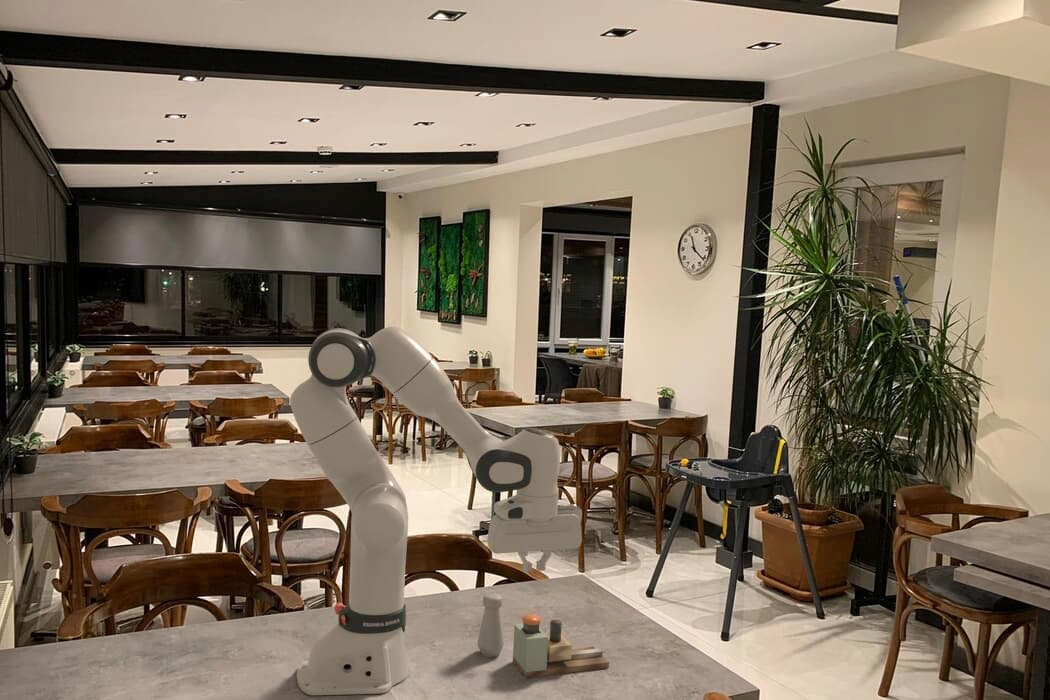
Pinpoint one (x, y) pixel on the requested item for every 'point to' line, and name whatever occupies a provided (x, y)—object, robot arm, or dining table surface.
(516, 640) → the end cabinet
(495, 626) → the salt shaker
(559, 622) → the carriage
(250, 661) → the dining table surface
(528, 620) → the button
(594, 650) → the rail bed
